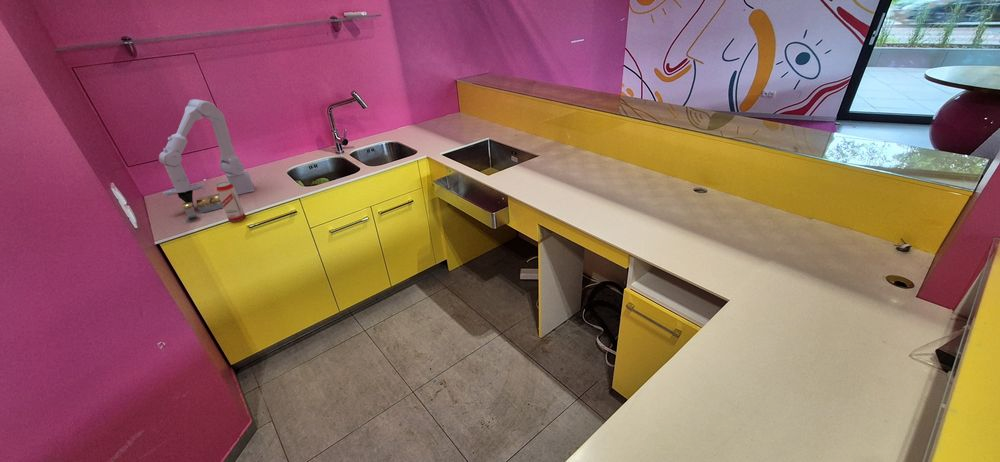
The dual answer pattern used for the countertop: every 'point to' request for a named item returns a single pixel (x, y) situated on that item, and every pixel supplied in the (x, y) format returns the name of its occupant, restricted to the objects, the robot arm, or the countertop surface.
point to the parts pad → (192, 220)
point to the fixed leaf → (213, 198)
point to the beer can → (230, 201)
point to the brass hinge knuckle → (208, 205)
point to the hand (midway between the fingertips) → (191, 207)
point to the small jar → (189, 210)
